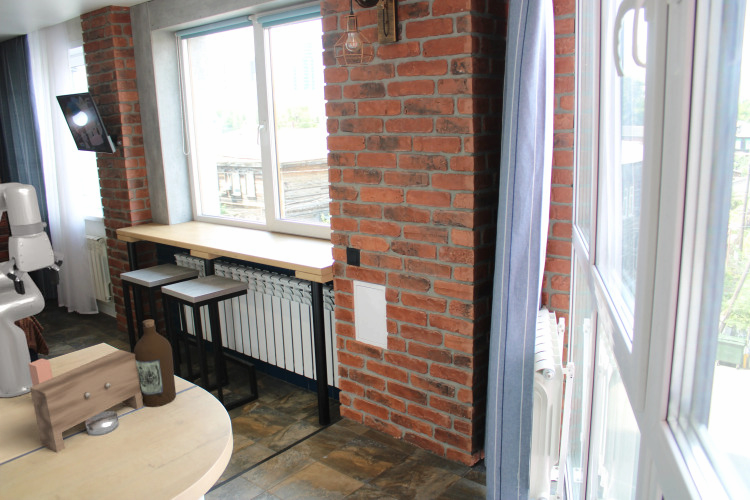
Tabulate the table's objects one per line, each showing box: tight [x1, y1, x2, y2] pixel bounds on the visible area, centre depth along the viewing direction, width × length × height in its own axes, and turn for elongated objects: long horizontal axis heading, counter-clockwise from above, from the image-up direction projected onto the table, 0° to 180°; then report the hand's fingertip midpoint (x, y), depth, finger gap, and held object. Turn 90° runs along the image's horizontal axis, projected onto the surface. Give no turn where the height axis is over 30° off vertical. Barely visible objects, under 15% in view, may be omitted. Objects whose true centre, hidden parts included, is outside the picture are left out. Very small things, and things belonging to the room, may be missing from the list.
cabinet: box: [30, 349, 144, 453], centre depth 157 cm, size 8×26×17 cm, turn 149°
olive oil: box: [132, 319, 177, 408], centre depth 169 cm, size 11×11×25 cm
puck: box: [84, 410, 120, 437], centre depth 157 cm, size 8×8×3 cm
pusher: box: [28, 358, 54, 386], centre depth 166 cm, size 19×8×14 cm, turn 59°
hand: (38, 288), depth 162 cm, fingers open, 9 cm apart
